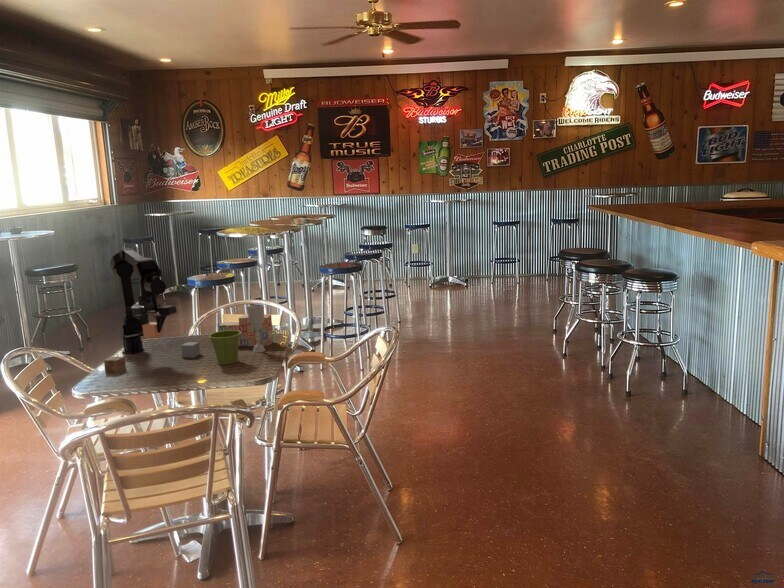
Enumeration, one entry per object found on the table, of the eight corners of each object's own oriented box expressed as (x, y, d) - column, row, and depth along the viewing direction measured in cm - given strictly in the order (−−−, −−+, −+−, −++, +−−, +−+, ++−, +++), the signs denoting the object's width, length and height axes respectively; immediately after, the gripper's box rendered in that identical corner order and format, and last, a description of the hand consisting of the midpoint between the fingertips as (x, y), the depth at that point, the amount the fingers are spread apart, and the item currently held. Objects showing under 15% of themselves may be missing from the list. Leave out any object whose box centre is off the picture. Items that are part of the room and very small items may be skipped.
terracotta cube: (143, 337, 230) (142, 325, 230) (151, 334, 235) (150, 322, 234) (155, 338, 229) (154, 325, 228) (163, 334, 234) (161, 322, 233)
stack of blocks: (219, 346, 255) (217, 318, 252) (225, 343, 261) (222, 315, 258) (269, 346, 252) (267, 317, 250) (273, 342, 259) (271, 313, 256)
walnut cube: (105, 373, 223) (103, 360, 222) (114, 369, 228) (112, 356, 227) (117, 373, 222) (115, 360, 221) (126, 369, 226) (124, 356, 226)
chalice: (247, 352, 242) (243, 308, 239) (253, 348, 249) (250, 305, 246) (264, 353, 241) (260, 308, 238) (270, 348, 248) (267, 305, 244)
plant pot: (219, 358, 236) (217, 330, 235) (248, 358, 235) (246, 329, 233) (206, 367, 225) (203, 337, 223) (236, 367, 223) (233, 337, 221)
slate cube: (182, 357, 240) (181, 345, 239) (189, 354, 245) (187, 342, 244) (193, 357, 239) (192, 345, 238) (200, 354, 244) (199, 342, 243)
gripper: (113, 296, 224) (118, 337, 226) (158, 296, 220) (162, 337, 222) (131, 291, 234) (136, 330, 237) (175, 290, 230) (179, 330, 233)
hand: (153, 332), depth 232 cm, fingers closed on terracotta cube, 5 cm apart
